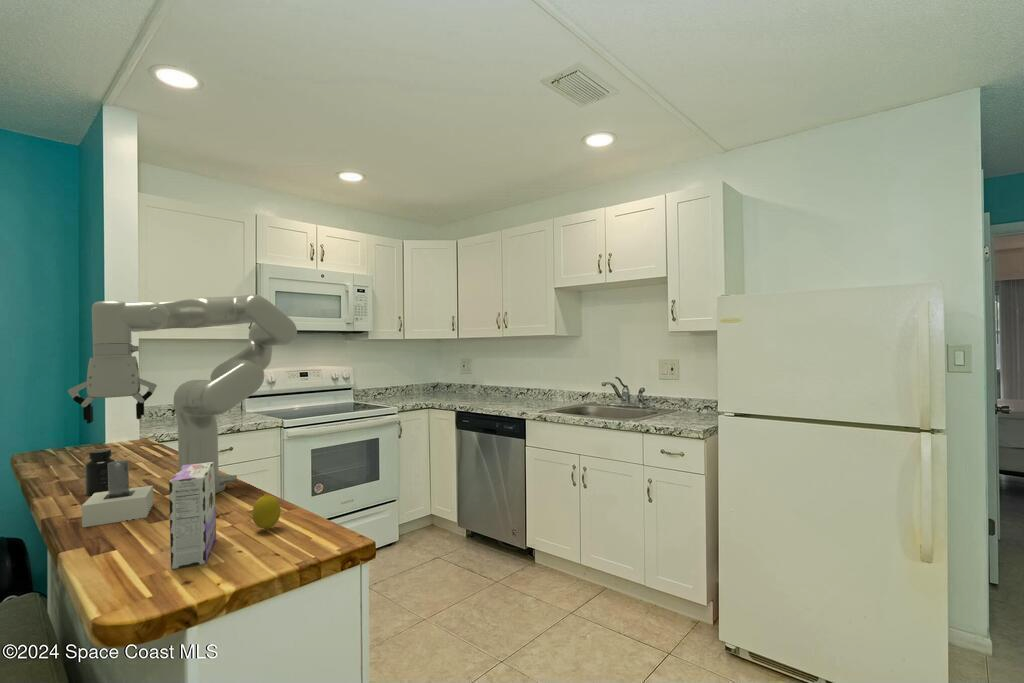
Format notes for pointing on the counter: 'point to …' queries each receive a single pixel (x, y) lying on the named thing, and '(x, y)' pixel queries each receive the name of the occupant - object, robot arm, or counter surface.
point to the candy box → (192, 515)
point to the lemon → (266, 512)
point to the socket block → (117, 507)
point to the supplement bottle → (98, 471)
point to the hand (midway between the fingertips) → (115, 420)
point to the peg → (118, 479)
